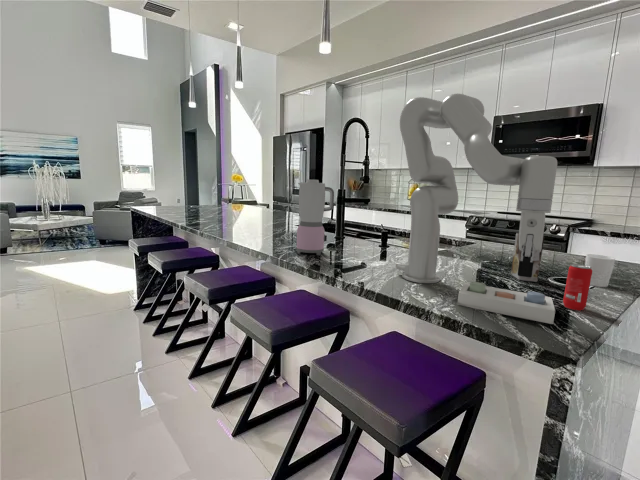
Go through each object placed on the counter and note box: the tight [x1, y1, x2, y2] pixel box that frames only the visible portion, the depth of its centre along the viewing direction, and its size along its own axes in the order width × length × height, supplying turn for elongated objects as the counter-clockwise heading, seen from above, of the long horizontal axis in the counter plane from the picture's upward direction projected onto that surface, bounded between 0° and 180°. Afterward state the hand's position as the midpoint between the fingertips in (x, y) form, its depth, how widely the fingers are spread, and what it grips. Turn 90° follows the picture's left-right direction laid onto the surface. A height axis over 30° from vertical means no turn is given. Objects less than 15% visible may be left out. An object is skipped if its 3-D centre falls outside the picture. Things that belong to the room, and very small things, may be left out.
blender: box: [295, 178, 335, 256], centre depth 150 cm, size 16×12×32 cm
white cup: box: [584, 253, 616, 288], centre depth 120 cm, size 8×8×10 cm
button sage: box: [469, 281, 487, 294], centre depth 97 cm, size 4×4×3 cm
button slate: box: [526, 291, 546, 305], centre depth 90 cm, size 4×4×3 cm
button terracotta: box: [497, 292, 513, 299], centre depth 94 cm, size 4×4×3 cm
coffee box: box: [510, 232, 545, 283], centre depth 124 cm, size 9×6×16 cm
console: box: [456, 282, 556, 325], centre depth 94 cm, size 22×12×3 cm, turn 60°
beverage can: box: [562, 263, 592, 312], centre depth 95 cm, size 5×5×12 cm
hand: (524, 275), depth 90 cm, fingers closed
